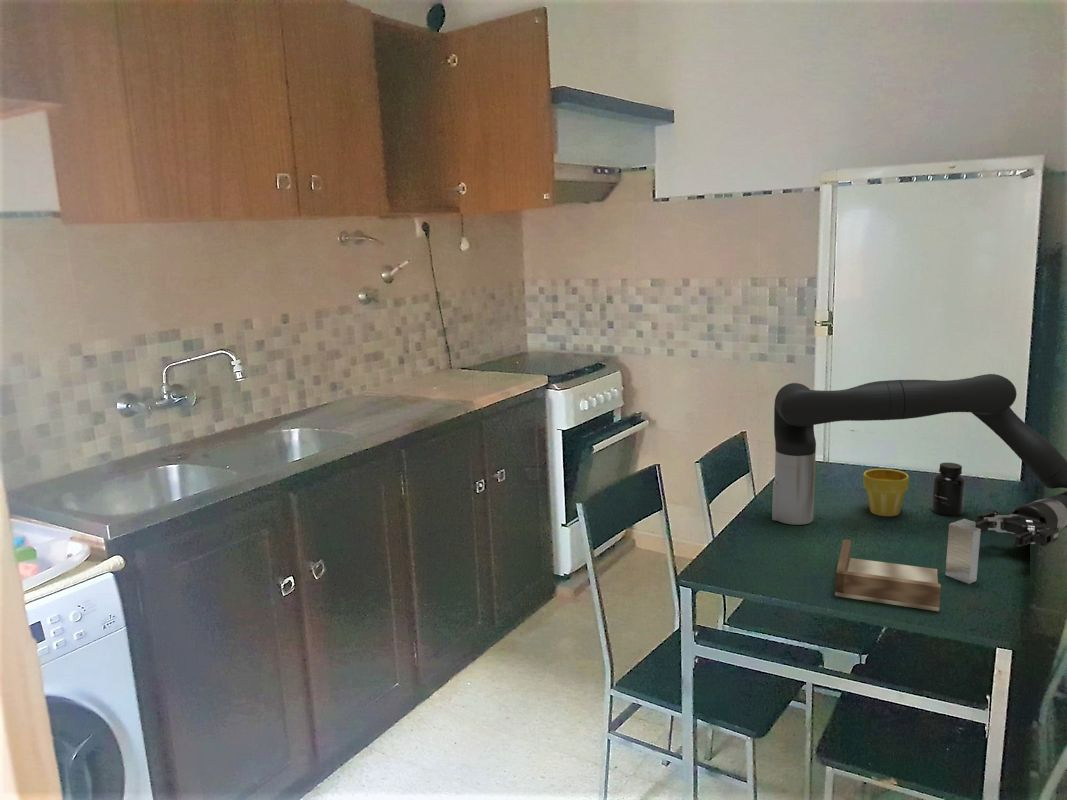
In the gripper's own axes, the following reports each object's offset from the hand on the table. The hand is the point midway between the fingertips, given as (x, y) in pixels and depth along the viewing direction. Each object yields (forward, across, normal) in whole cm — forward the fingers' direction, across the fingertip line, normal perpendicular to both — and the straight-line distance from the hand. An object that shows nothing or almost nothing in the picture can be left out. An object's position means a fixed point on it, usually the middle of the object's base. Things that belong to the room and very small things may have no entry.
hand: (996, 534), depth 164 cm
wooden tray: (+25, -6, +6) cm, 27 cm away
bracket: (+10, 0, +7) cm, 12 cm away
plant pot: (-9, -33, +7) cm, 34 cm away
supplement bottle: (-21, -24, +7) cm, 33 cm away
